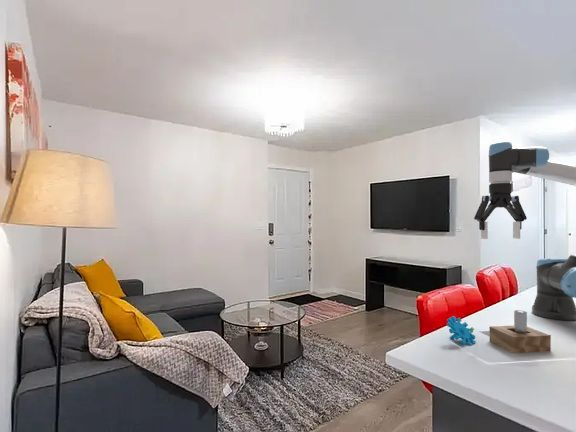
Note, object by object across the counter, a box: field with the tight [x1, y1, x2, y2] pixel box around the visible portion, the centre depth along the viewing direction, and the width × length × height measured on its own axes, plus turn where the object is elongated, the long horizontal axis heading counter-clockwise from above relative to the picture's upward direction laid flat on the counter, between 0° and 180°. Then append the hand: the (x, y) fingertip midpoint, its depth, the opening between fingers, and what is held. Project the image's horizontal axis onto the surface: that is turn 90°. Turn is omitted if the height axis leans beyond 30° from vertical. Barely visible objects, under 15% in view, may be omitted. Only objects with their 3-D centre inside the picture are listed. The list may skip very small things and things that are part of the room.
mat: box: [479, 330, 490, 338], centre depth 117 cm, size 10×8×1 cm
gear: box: [446, 315, 477, 346], centre depth 112 cm, size 11×6×10 cm
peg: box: [513, 309, 528, 334], centre depth 107 cm, size 3×3×11 cm
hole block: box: [489, 325, 552, 354], centre depth 107 cm, size 12×10×5 cm
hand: (500, 238), depth 134 cm, fingers open, 13 cm apart
